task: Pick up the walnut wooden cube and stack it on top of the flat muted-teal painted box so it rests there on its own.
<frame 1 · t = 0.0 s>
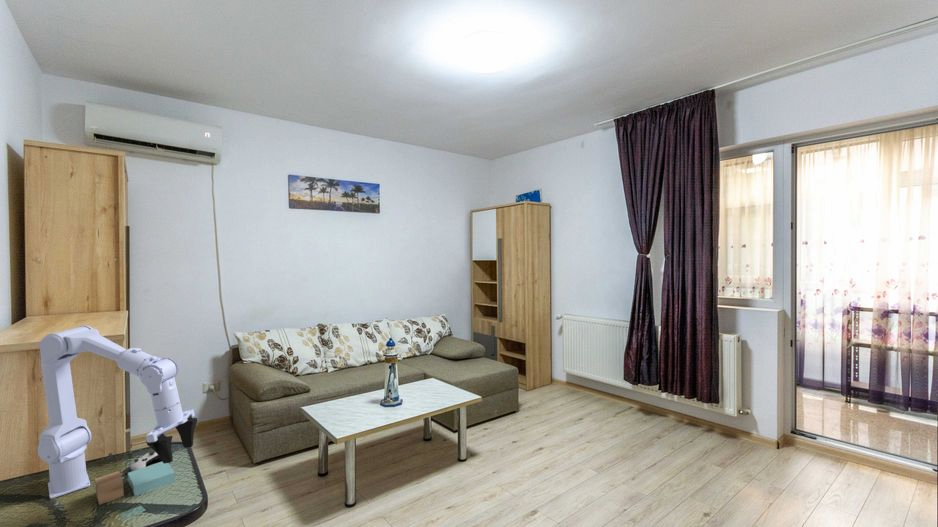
hand: (178, 454, 115), 11 cm above the table, tool pointing down, fingers open, 7 cm apart
teal box: (151, 482, 121), on the table
game controller: (149, 467, 128), on the table
walnut cube: (110, 496, 114), on the table
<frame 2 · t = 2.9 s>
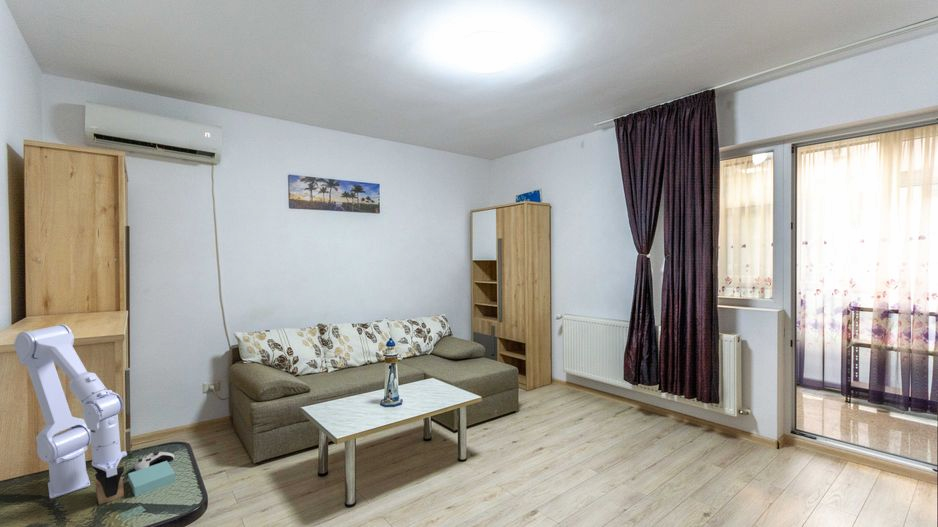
hand: (109, 491, 114), 1 cm above the table, tool pointing down, fingers closed on walnut cube, 5 cm apart
game controller: (152, 467, 128), on the table
walnut cube: (110, 496, 114), on the table, touching gripper
everything else where it was.
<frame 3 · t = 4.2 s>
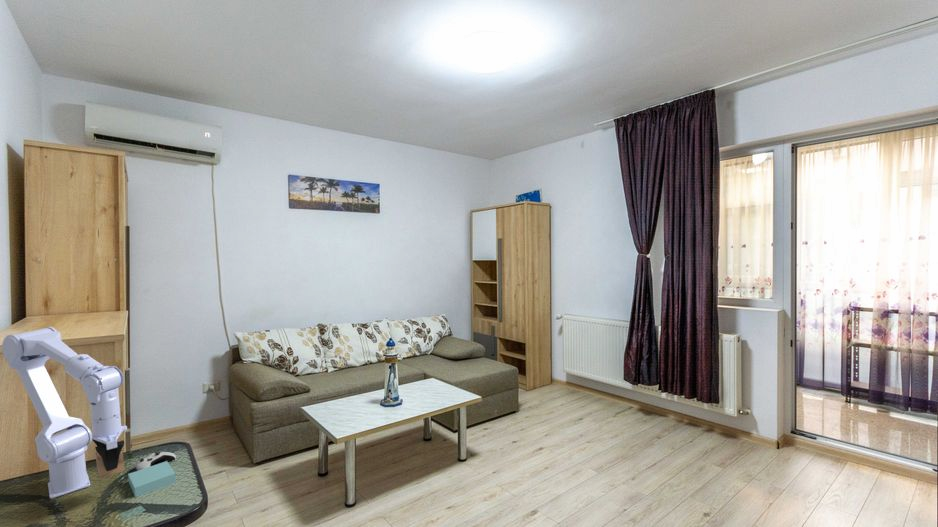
hand: (110, 465, 114), 8 cm above the table, tool pointing down, fingers closed on walnut cube, 5 cm apart
walnut cube: (110, 470, 114), point 7 cm above the table, touching gripper
when the fingers open (6 cm above the table, at t = 6.0 s): walnut cube drops 2 cm, resting on teal box.
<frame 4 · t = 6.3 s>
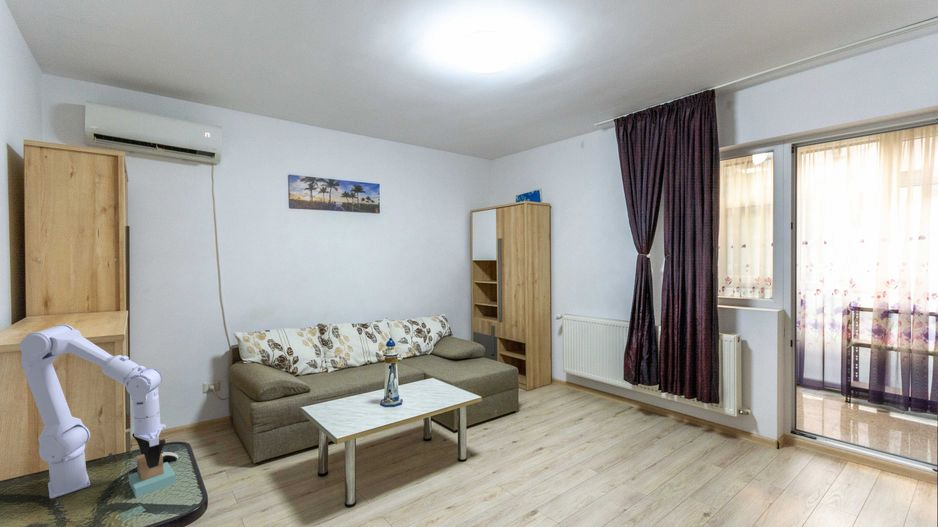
hand: (150, 461, 120), 6 cm above the table, tool pointing down, fingers open, 7 cm apart
teal box: (152, 484, 120), on the table, touching walnut cube
walnut cube: (150, 473, 120), point 2 cm above the table, touching teal box
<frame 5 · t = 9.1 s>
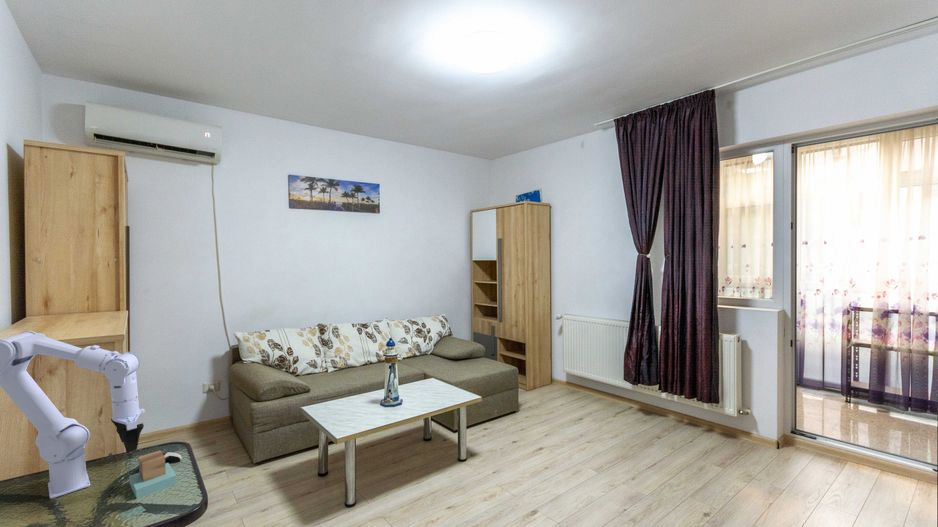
hand: (129, 445, 120), 10 cm above the table, tool pointing down, fingers open, 7 cm apart
game controller: (160, 467, 128), on the table
walnut cube: (152, 474, 120), point 3 cm above the table, touching teal box
everything else where it was.
at the end: walnut cube 0.7 cm off-centre on the teal box, point 3.0 cm above the teal box's base; walnut cube touching teal box; walnut cube tilted 0° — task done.
